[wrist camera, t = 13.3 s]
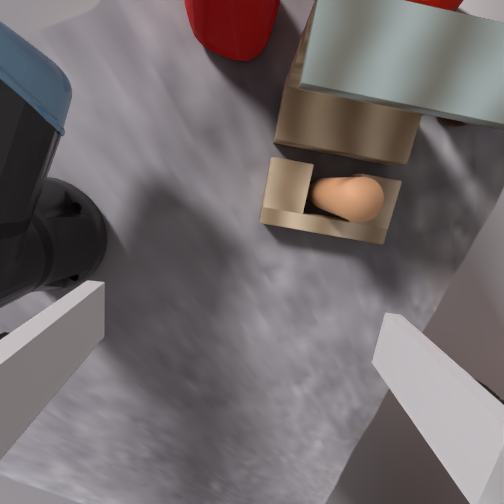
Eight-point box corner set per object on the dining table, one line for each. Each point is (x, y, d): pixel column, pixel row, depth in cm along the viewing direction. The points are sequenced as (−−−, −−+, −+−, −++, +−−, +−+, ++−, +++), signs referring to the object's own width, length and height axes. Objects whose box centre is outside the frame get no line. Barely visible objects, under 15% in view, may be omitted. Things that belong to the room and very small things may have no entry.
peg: (304, 205, 40) (333, 218, 26) (311, 175, 39) (345, 172, 25) (333, 210, 40) (376, 226, 26) (340, 180, 39) (389, 181, 25)
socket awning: (259, 218, 40) (267, 253, 21) (284, 84, 36) (321, -18, 17) (370, 238, 41) (472, 288, 22) (407, 109, 37) (569, 37, 18)
